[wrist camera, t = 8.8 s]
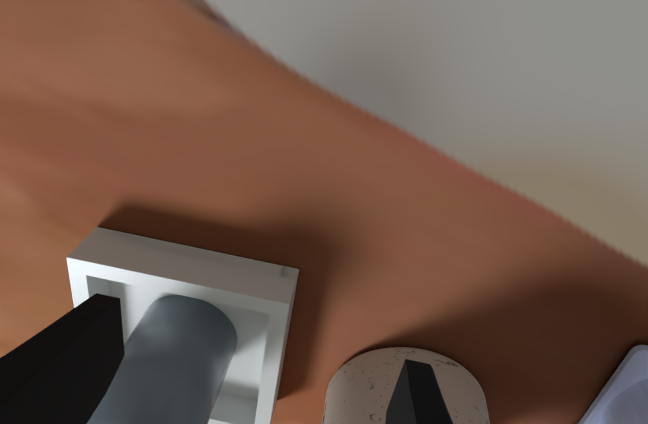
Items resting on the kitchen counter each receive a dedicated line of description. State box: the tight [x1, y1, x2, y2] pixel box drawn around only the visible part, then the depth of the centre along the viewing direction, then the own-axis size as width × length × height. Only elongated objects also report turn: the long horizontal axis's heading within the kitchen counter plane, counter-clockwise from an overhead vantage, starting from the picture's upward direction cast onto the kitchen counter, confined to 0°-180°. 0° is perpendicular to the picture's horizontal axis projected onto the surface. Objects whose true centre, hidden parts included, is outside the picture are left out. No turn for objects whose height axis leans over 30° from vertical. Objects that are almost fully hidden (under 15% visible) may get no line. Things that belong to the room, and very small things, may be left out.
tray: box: [67, 227, 299, 424], centre depth 25 cm, size 10×10×2 cm
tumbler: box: [87, 295, 237, 424], centre depth 22 cm, size 5×5×7 cm
